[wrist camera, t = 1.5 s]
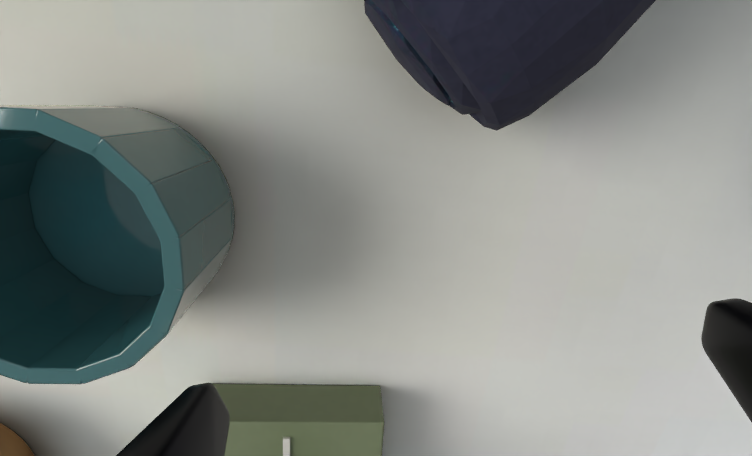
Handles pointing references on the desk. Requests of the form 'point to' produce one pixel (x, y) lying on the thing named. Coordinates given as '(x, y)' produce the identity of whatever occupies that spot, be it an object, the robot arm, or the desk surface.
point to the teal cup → (101, 237)
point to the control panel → (303, 420)
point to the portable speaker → (500, 48)
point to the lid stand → (12, 443)
